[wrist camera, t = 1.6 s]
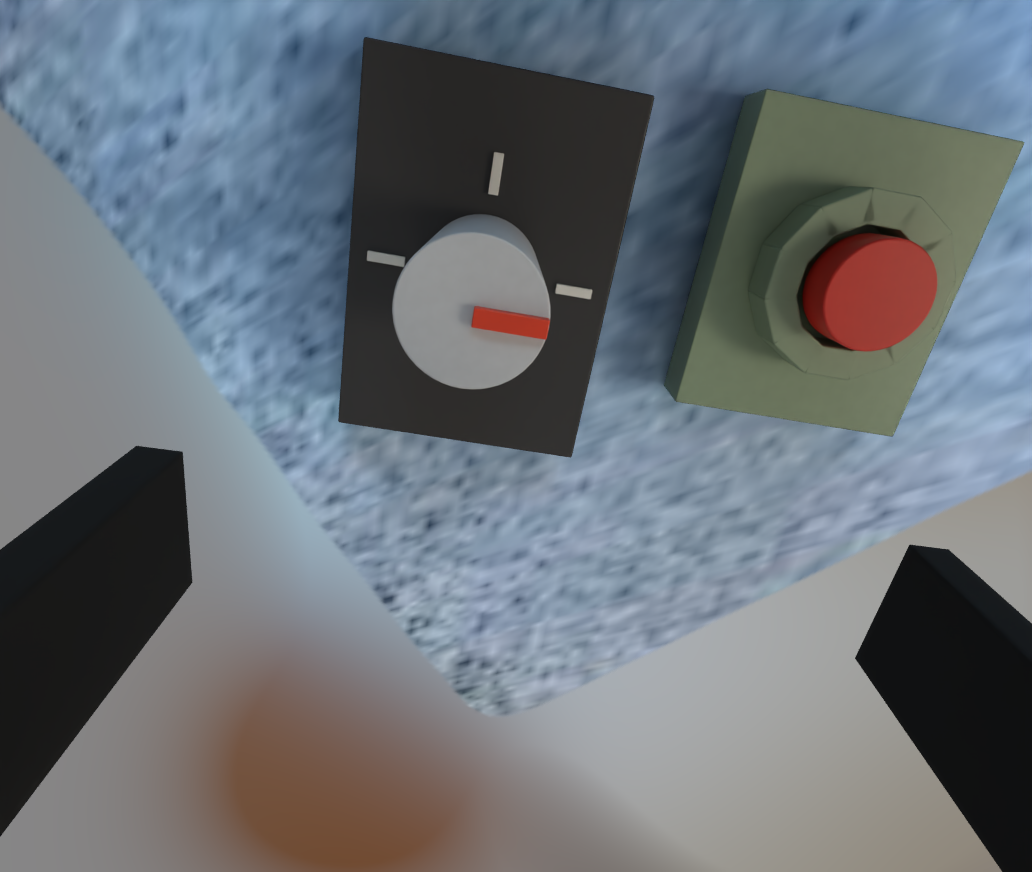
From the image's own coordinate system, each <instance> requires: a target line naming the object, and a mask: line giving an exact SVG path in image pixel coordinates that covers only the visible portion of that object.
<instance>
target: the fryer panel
mask: <svg viewBox="0 0 1032 872" xmlns="http://www.w3.org/2000/svg"><path fill="white" fill-rule="evenodd" d="M653 101H654V96H653V95H649V94H644V93H639V92H634V91H629V90H624V89H620V88H615V87H610V86H605V85H600V84H595V83H590V82H585V81H580V80H575V79H570V78H565V77H560V76H555V75H550V74H545V73H540V72H536V71H531V70H526V69H521V68H516V67H511V66H506V65H501V64H496V63H491V62H486V61H481V60H476V59H471V58H466V57H461V56H456V55H452V54H447V53H442V52H437V51H432V50H427V49H422V48H417V47H412V46H407V45H402V44H397V43H392V42H387V41H382V40H377V39H373V38H368V37H365V38H364V42H363V57H362V72H361V87H360V102H359V117H358V132H357V147H356V163H355V178H354V193H353V208H352V223H351V238H350V253H349V268H348V283H347V298H346V314H345V329H344V344H343V359H342V374H341V389H340V404H339V419H338V421H339V422H342V423H349V424H355V425H362V426H368V427H375V428H381V429H388V430H394V431H401V432H408V433H414V434H421V435H427V436H434V437H440V438H447V439H453V440H460V441H467V442H473V443H480V444H486V445H493V446H499V447H506V448H512V449H519V450H526V451H532V452H539V453H545V454H552V455H558V456H565V457H571V456H572V453H573V448H574V444H575V440H576V435H577V431H578V427H579V422H580V418H581V414H582V409H583V405H584V401H585V396H586V392H587V388H588V383H589V379H590V375H591V370H592V366H593V362H594V357H595V353H596V348H597V344H598V340H599V335H600V331H601V327H602V322H603V318H604V314H605V309H606V305H607V301H608V296H609V292H610V288H611V283H612V279H613V275H614V270H615V266H616V262H617V257H618V253H619V249H620V244H621V240H622V236H623V231H624V227H625V223H626V218H627V214H628V210H629V205H630V201H631V197H632V192H633V188H634V184H635V179H636V175H637V171H638V166H639V162H640V158H641V153H642V149H643V145H644V140H645V136H646V132H647V127H648V123H649V119H650V114H651V110H652V106H653ZM473 214H486V215H492V216H496V217H499V218H502V219H504V220H506V221H508V222H510V223H511V224H513V225H514V226H515V227H517V228H518V229H519V230H520V231H521V232H522V233H523V234H524V235H525V236H526V238H527V239H528V240H529V242H530V244H531V246H532V247H533V250H534V252H535V254H536V257H537V260H538V263H539V266H540V269H541V272H542V275H543V278H544V281H545V284H546V287H547V291H548V295H549V300H550V325H549V330H548V334H547V339H546V340H545V342H544V345H543V347H542V349H541V351H540V352H539V354H538V356H537V357H536V358H535V360H534V361H533V362H532V363H531V364H530V365H529V366H528V367H527V368H526V369H525V370H524V371H523V372H522V373H520V374H519V375H518V376H516V377H515V378H513V379H511V380H510V381H508V382H505V383H503V384H501V385H498V386H494V387H491V388H484V389H462V388H457V387H452V386H449V385H446V384H443V383H441V382H439V381H437V380H435V379H433V378H431V377H430V376H428V375H427V374H425V373H424V372H423V371H422V370H421V369H419V368H418V367H417V366H416V365H415V364H414V363H413V362H412V360H411V359H410V358H409V357H408V355H407V354H406V352H405V351H404V349H403V347H402V345H401V344H400V342H399V339H398V337H397V334H396V331H395V327H394V323H393V314H392V303H393V295H394V290H395V287H396V283H397V280H398V278H399V276H400V274H401V272H402V270H403V268H404V267H405V265H406V264H407V262H408V261H409V260H410V259H411V258H412V257H413V255H414V254H415V253H416V252H417V251H418V250H420V249H421V248H422V247H423V246H424V245H425V244H426V243H427V242H428V241H429V240H430V239H431V238H432V237H433V236H435V235H436V234H437V233H438V232H439V231H440V230H441V229H442V228H443V227H444V226H446V225H447V224H449V223H450V222H452V221H454V220H456V219H458V218H460V217H464V216H467V215H473Z"/></svg>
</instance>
